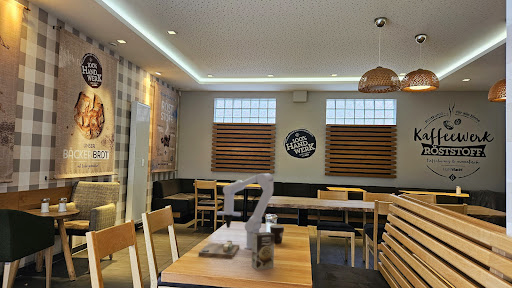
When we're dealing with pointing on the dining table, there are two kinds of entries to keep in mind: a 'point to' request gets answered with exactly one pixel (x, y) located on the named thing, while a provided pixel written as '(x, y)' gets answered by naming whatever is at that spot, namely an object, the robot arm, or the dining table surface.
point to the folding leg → (226, 245)
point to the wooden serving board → (218, 250)
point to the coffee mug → (277, 233)
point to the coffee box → (263, 250)
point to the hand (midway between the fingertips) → (228, 227)
